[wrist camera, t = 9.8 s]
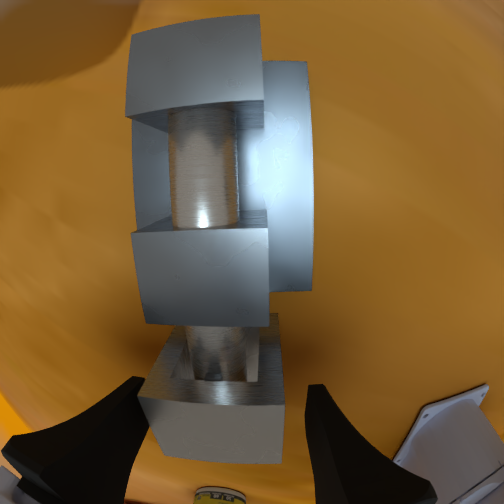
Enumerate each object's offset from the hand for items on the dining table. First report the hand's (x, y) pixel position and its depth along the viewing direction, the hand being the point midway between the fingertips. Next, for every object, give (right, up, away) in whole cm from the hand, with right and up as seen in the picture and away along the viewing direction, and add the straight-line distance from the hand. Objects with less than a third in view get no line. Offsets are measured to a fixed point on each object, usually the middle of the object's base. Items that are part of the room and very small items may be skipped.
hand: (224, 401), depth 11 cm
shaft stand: (0, +7, +2) cm, 7 cm away
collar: (0, +1, +4) cm, 4 cm away
